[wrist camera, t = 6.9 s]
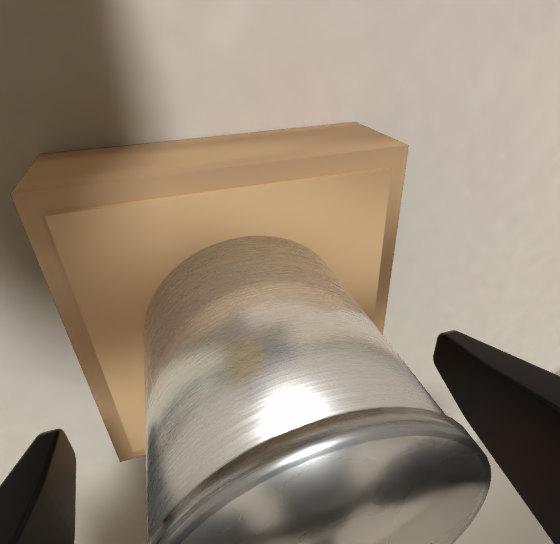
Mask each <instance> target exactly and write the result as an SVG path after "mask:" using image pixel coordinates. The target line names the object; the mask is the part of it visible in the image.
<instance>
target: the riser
mask: <svg viewBox="0 0 560 544" xmlns="http://www.w3.org/2000/svg"><path fill="white" fill-rule="evenodd" d="M408 147H409V145H407V144H405V143H402V142H400V141H398V140H395V139H393V138H391V137H389V136H386V135H384V134H382V133H380V132H377V131H375V130H373V129H371V128H368V127H366V126H364V125H361V124H359V123H357V122H350V123H340V124H331V125H321V126H311V127H302V128H292V129H282V130H273V131H263V132H253V133H243V134H234V135H224V136H214V137H205V138H195V139H185V140H176V141H166V142H156V143H146V144H137V145H127V146H117V147H108V148H98V149H88V150H79V151H69V152H59V153H49V154H40V155H39V156H38V158H37V159H36V160H35V162H34V163H33V164H32V166H31V167H30V168H29V170H28V171H27V172H26V174H25V175H24V176H23V178H22V179H21V180H20V182H19V183H18V184H17V185H16V187H15V188H14V189H13V191H12V192H11V193H10V195H11V197H12V200H13V202H14V205H15V207H16V210H17V212H18V214H19V217H20V219H21V222H22V224H23V227H24V229H25V231H26V234H27V236H28V239H29V241H30V244H31V246H32V248H33V251H34V253H35V256H36V258H37V261H38V263H39V265H40V268H41V270H42V273H43V275H44V278H45V280H46V283H47V285H48V287H49V290H50V292H51V295H52V297H53V300H54V302H55V304H56V307H57V309H58V312H59V314H60V317H61V319H62V321H63V324H64V326H65V329H66V331H67V334H68V336H69V339H70V341H71V343H72V346H73V348H74V351H75V353H76V356H77V358H78V360H79V363H80V365H81V368H82V370H83V373H84V375H85V377H86V380H87V382H88V385H89V387H90V390H91V392H92V394H93V397H94V399H95V402H96V404H97V407H98V409H99V412H100V414H101V416H102V419H103V421H104V424H105V426H106V429H107V431H108V433H109V436H110V438H111V441H112V443H113V446H114V448H115V450H116V453H117V455H118V458H119V460H120V462H122V461H126V460H130V459H133V458H137V457H140V456H144V455H146V444H145V388H144V328H143V326H144V320H145V314H146V311H147V308H148V305H149V302H150V301H151V299H152V297H153V295H154V293H155V291H156V290H157V288H158V287H159V285H160V284H161V283H162V281H163V280H164V279H165V278H166V277H167V276H168V274H169V273H170V272H171V271H172V270H173V269H174V268H176V267H177V266H178V265H179V264H180V263H182V262H183V261H184V260H186V259H187V258H189V257H190V256H192V255H193V254H195V253H196V252H198V251H200V250H202V249H205V248H207V247H209V246H211V245H214V244H216V243H219V242H222V241H225V240H229V239H234V238H238V237H246V236H273V237H279V238H284V239H288V240H291V241H294V242H297V243H299V244H301V245H303V246H306V247H307V248H309V249H310V250H312V251H313V252H315V253H316V254H317V255H318V256H319V257H321V258H322V259H323V260H324V261H325V263H326V264H327V265H328V266H329V268H330V269H331V270H332V271H333V273H334V274H335V275H336V277H337V278H338V279H339V280H340V282H341V283H342V284H343V285H344V287H345V288H346V289H347V291H348V292H349V293H350V294H351V296H352V297H353V298H354V299H355V301H356V302H357V303H358V304H359V306H360V307H361V308H362V310H363V311H364V312H365V313H366V315H367V316H368V317H369V318H370V320H371V321H372V322H373V323H374V325H375V326H376V327H377V329H378V330H379V331H380V332H381V334H382V335H383V329H384V322H385V314H386V307H387V300H388V293H389V285H390V278H391V271H392V263H393V256H394V249H395V242H396V234H397V227H398V220H399V212H400V205H401V198H402V191H403V183H404V176H405V169H406V161H407V154H408Z"/></svg>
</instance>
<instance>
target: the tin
mask: <svg viewBox="0 0 560 544" xmlns="http://www.w3.org/2000/svg"><path fill="white" fill-rule="evenodd" d="M143 328H144V388H145V444H146V500H147V544H453V543H454V542H455V541H456V540H457V539H458V538H459V537H460V536H461V535H462V533H463V532H464V531H465V530H466V529H467V527H468V526H469V525H470V524H471V522H472V521H473V519H474V518H475V517H476V515H477V514H478V512H479V510H480V509H481V507H482V505H483V503H484V501H485V499H486V496H487V493H488V490H489V487H490V481H491V468H490V464H489V461H488V459H487V457H486V455H485V454H484V452H483V451H482V450H481V448H480V447H479V446H478V445H477V443H476V442H475V441H474V440H473V439H472V437H471V436H470V435H469V434H468V432H467V431H466V430H465V429H464V427H463V426H462V425H460V424H459V423H458V422H456V421H455V420H454V419H452V418H450V417H448V416H446V415H445V413H444V412H443V411H442V410H441V408H440V407H439V406H438V405H437V403H436V402H435V401H434V399H433V398H432V397H431V396H430V394H429V393H428V392H427V391H426V389H425V388H424V387H423V386H422V384H421V383H420V382H419V380H418V379H417V378H416V377H415V375H414V374H413V373H412V372H411V370H410V369H409V368H408V367H407V365H406V364H405V363H404V361H403V360H402V359H401V358H400V356H399V355H398V354H397V353H396V351H395V350H394V349H393V348H392V346H391V345H390V344H389V342H388V341H387V340H386V339H385V337H384V336H383V335H382V334H381V332H380V331H379V330H378V329H377V327H376V326H375V325H374V323H373V322H372V321H371V320H370V318H369V317H368V316H367V315H366V313H365V312H364V311H363V310H362V308H361V307H360V306H359V304H358V303H357V302H356V301H355V299H354V298H353V297H352V296H351V294H350V293H349V292H348V291H347V289H346V288H345V287H344V285H343V284H342V283H341V282H340V280H339V279H338V278H337V277H336V275H335V274H334V273H333V271H332V270H331V269H330V268H329V266H328V265H327V264H326V263H325V261H324V260H323V259H322V258H321V257H319V256H318V255H317V254H316V253H315V252H313V251H312V250H310V249H309V248H307V247H306V246H303V245H301V244H299V243H297V242H294V241H291V240H288V239H284V238H279V237H273V236H246V237H238V238H234V239H229V240H225V241H222V242H219V243H216V244H214V245H211V246H209V247H207V248H205V249H202V250H200V251H198V252H196V253H195V254H193V255H192V256H190V257H189V258H187V259H186V260H184V261H183V262H182V263H180V264H179V265H178V266H177V267H176V268H174V269H173V270H172V271H171V272H170V273H169V274H168V276H167V277H166V278H165V279H164V280H163V281H162V283H161V284H160V285H159V287H158V288H157V290H156V291H155V293H154V295H153V297H152V299H151V301H150V302H149V305H148V308H147V311H146V314H145V320H144V326H143Z"/></svg>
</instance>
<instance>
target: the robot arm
mask: <svg viewBox="0 0 560 544" xmlns="http://www.w3.org/2000/svg"><path fill="white" fill-rule="evenodd" d="M433 360H434V364H435V366H436V368H437V370H438V372H439V373H440V375H441V377H442V379H443V380H444V382H445V384H446V386H447V387H448V389H449V391H450V393H451V394H452V396H453V398H454V400H455V401H456V403H457V405H458V407H459V408H460V410H461V412H462V413H463V415H464V417H465V418H466V420H467V421H468V423H469V424H470V426H471V427H472V428H473V430H474V431H475V433H476V434H477V435H478V437H479V438H480V440H481V441H482V442H483V444H484V445H485V447H486V448H487V449H488V451H489V452H490V454H491V455H492V456H493V458H494V459H495V461H496V462H497V464H498V465H499V467H500V468H501V469H502V471H503V472H504V474H505V475H506V476H507V478H508V479H509V481H510V482H511V483H512V485H513V486H514V487H515V489H516V491H517V492H518V493H519V495H520V496H521V498H522V499H523V500H524V502H525V503H526V505H527V506H528V507H529V509H530V510H531V512H532V513H533V515H534V516H535V517H536V519H537V520H538V522H539V523H540V524H541V526H542V527H543V529H544V530H545V531H546V533H547V534H548V536H549V537H550V538H551V540H552V541H553V543H554V544H560V376H558V375H556V374H553V373H551V372H549V371H547V370H544V369H542V368H540V367H537V366H535V365H533V364H531V363H528V362H526V361H524V360H522V359H519V358H517V357H515V356H512V355H510V354H508V353H506V352H503V351H501V350H499V349H497V348H494V347H492V346H490V345H488V344H485V343H483V342H481V341H478V340H476V339H474V338H472V337H469V336H467V335H465V334H463V333H460V332H458V331H454V330H453V331H448V332H444V333H441V334H439V336H438V338H437V342H436V346H435V351H434V355H433ZM75 498H76V457H75V453H74V450H73V448H72V446H71V444H70V442H69V440H68V438H67V436H66V434H65V433H64V431H63V430H62V429H55V430H51V431H47V432H43V433H41V434H39V435H38V436H37V437H36V438H35V440H34V441H33V442H32V444H31V445H30V446H29V448H28V449H27V450H26V452H25V453H24V455H23V456H22V457H21V459H20V460H19V461H18V463H17V464H16V465H15V467H14V468H13V469H12V471H11V472H10V473H9V475H8V476H7V477H6V479H5V480H4V481H3V483H2V484H1V485H0V544H74V539H75Z"/></svg>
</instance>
